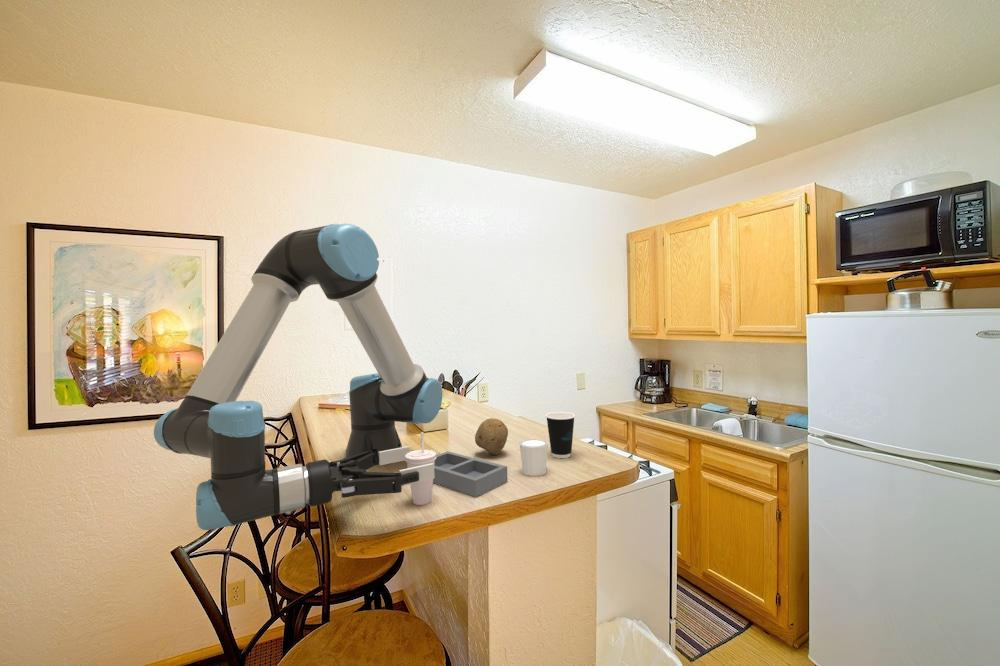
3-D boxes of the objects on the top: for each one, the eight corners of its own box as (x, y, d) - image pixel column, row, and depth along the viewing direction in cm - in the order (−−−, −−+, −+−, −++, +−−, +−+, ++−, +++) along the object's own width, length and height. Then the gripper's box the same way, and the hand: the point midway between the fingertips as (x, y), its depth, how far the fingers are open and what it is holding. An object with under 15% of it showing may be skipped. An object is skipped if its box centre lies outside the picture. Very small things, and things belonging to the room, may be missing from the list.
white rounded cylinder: (547, 477, 95) (546, 447, 95) (518, 476, 96) (517, 446, 96) (549, 467, 102) (549, 439, 102) (522, 466, 103) (521, 438, 103)
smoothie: (444, 500, 84) (442, 432, 84) (417, 511, 80) (415, 439, 79) (426, 492, 89) (423, 427, 88) (400, 501, 84) (397, 433, 84)
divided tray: (415, 477, 98) (415, 462, 98) (448, 464, 106) (447, 451, 106) (476, 497, 85) (475, 480, 85) (507, 481, 93) (507, 466, 93)
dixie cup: (572, 461, 105) (571, 419, 105) (542, 458, 108) (541, 417, 108) (579, 452, 112) (578, 412, 112) (551, 449, 116) (550, 411, 115)
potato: (474, 460, 108) (473, 422, 108) (476, 450, 117) (475, 415, 117) (509, 459, 109) (507, 421, 108) (508, 449, 117) (507, 414, 117)
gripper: (298, 484, 83) (401, 462, 94) (317, 536, 62) (446, 500, 73) (297, 447, 83) (400, 430, 94) (315, 486, 62) (445, 458, 73)
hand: (420, 460), depth 83 cm, fingers open, 13 cm apart
